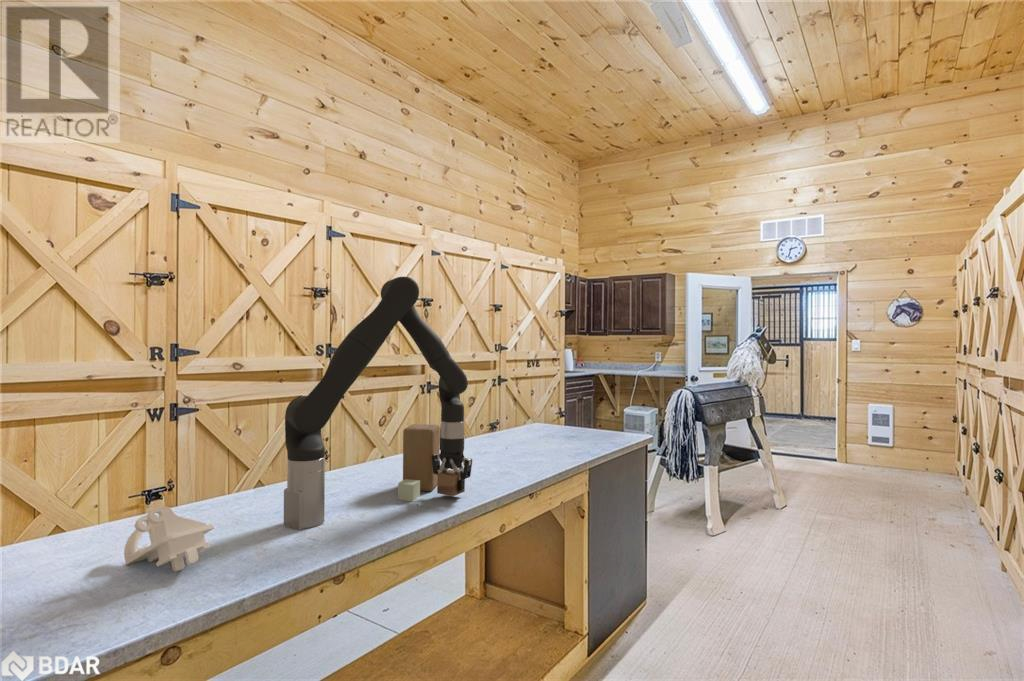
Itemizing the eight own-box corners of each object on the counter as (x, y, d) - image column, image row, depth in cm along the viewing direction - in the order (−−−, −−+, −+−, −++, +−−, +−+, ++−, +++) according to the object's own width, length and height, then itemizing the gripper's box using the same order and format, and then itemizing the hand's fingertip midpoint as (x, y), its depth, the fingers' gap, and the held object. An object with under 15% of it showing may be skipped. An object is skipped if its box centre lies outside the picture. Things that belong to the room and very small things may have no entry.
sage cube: (413, 501, 161) (413, 484, 161) (397, 499, 162) (398, 483, 162) (420, 496, 166) (420, 480, 166) (405, 495, 167) (405, 479, 167)
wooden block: (439, 483, 180) (440, 424, 180) (432, 492, 170) (433, 429, 170) (410, 482, 181) (411, 423, 181) (401, 491, 171) (402, 428, 171)
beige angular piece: (126, 593, 112) (114, 531, 115) (183, 573, 122) (171, 517, 125) (166, 570, 102) (152, 504, 106) (225, 551, 112) (211, 490, 115)
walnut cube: (453, 496, 160) (453, 476, 160) (437, 493, 163) (437, 473, 163) (464, 491, 166) (464, 472, 166) (448, 488, 168) (449, 469, 169)
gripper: (425, 434, 165) (424, 489, 165) (464, 439, 158) (463, 496, 158) (440, 431, 171) (439, 484, 171) (478, 436, 164) (477, 490, 164)
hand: (451, 490), depth 164 cm, fingers closed on walnut cube, 6 cm apart
